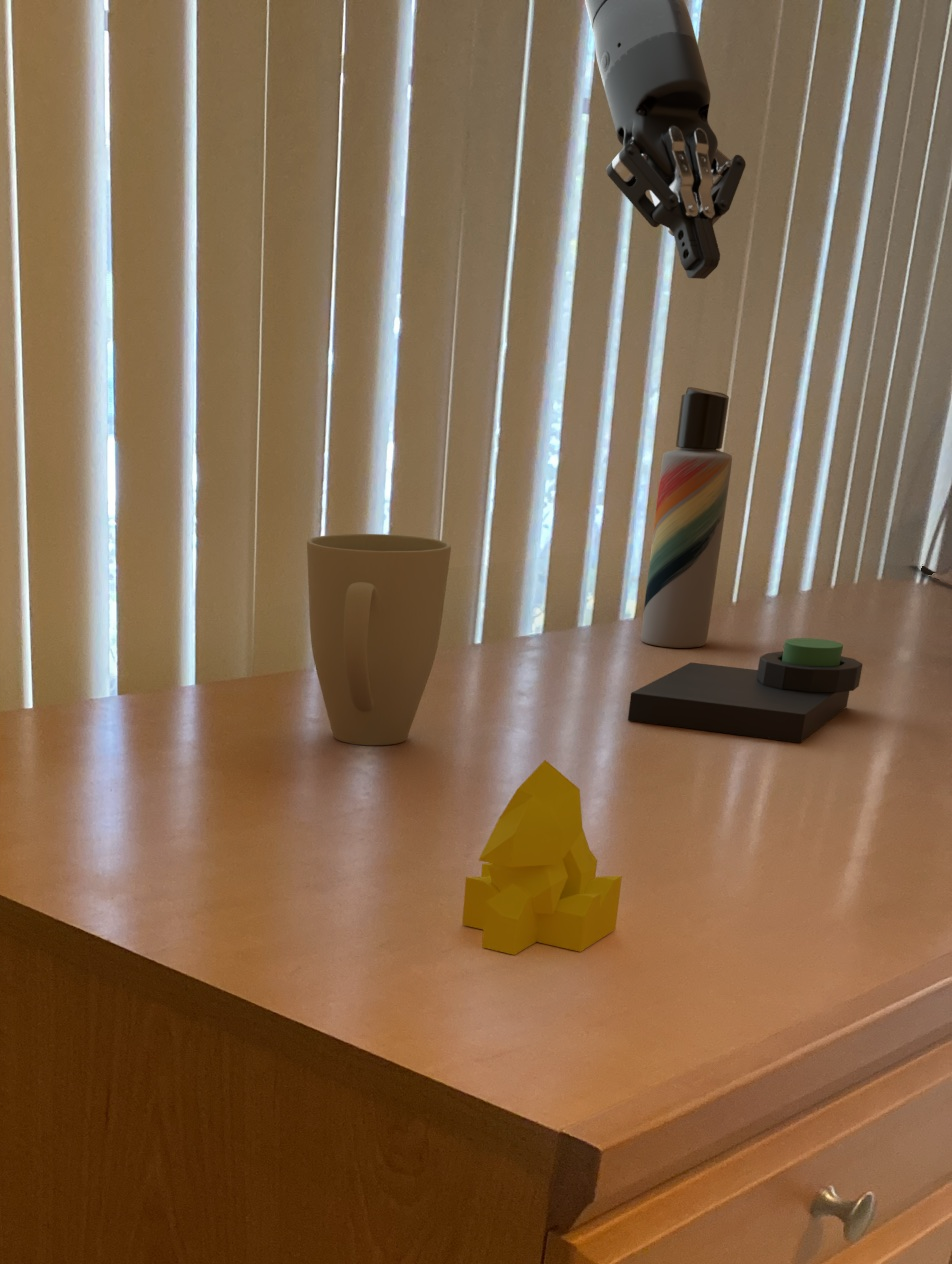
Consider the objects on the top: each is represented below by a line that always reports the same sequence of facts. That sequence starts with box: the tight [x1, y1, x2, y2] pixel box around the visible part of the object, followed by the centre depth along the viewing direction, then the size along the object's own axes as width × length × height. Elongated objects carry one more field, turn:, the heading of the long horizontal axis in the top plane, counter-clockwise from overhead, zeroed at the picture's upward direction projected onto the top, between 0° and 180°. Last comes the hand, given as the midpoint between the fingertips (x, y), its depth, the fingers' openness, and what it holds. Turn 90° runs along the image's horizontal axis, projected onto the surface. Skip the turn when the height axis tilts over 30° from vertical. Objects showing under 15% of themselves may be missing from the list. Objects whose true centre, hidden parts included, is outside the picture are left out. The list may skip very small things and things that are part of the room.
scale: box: [627, 651, 863, 744], centre depth 115 cm, size 14×13×4 cm
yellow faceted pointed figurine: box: [461, 759, 623, 956], centre depth 72 cm, size 6×8×8 cm
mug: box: [306, 533, 452, 746], centre depth 103 cm, size 11×10×12 cm
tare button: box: [782, 637, 844, 666], centre depth 116 cm, size 4×4×2 cm
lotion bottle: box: [640, 386, 733, 649], centre depth 137 cm, size 6×6×20 cm
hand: (704, 272), depth 129 cm, fingers closed
